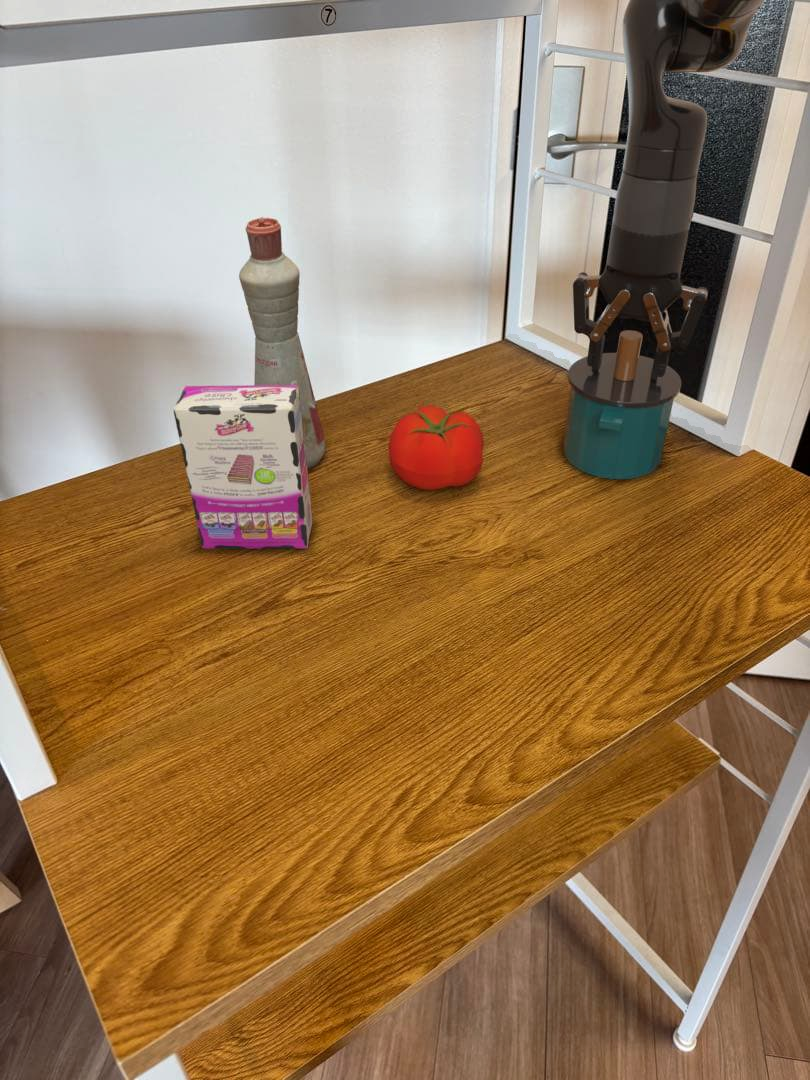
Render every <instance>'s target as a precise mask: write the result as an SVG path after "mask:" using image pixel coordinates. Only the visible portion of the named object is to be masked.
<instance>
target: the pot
mask: <svg viewBox="0 0 810 1080" xmlns="http://www.w3.org/2000/svg"><path fill="white" fill-rule="evenodd" d="M569 388H570V389H569V395H568V404H567V410H566V411H567V412H566V420H565V427H564V434H563V443H562V446H563V454H564V457H565V458H566V460H567V461H568V462H569V463H570V464H571V465H572V466H573V467H575V468H577V469H578V470H579V471H582V472H584V473H586V474H589V475H591V476H593V477H594V476H595V477H599V478H603V479H610V480H632V479H638V478H641V477H645V476H647V475H650V474H651V473H653V472H654V471H655V470H656V469H657V468H658V467H659V465H660V463H661V459H662V456H663V451H664V447H665V442H666V438H667V434H668V433H667V432H668V428H669V423H670V418H671V414H672V409H673V405H674V400H675V398H674V399H672V400H670V401H669V402H666V403H664V404H661V405H657V406H652V407H643V408H627V407H617V406H611V405H606V404H602V403H599V402H596V401H593V400H591V399H588V398H586V397H584V396H582V395H581V394H579V393H578V392H576V391H575V390H574V389H573V388H572V387H571V386H570V387H569Z"/></svg>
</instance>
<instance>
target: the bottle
mask: <svg viewBox="0 0 810 1080" xmlns="http://www.w3.org/2000/svg"><path fill="white" fill-rule="evenodd" d="M281 226H282V225H281V224H280V223H279V220H278V219H276V218H271V217H264V216H261V217H259V218H254V219H252V220H249V221H248V222H247V224H246V226H245V233H246V235H247V241H248V245H249V250H250V256H249V259H248V260H247V261H246V262H245V263H244V264H243V266H242V267H241V269H240V270H239V274H238V278H239V282H240V286H241V289H242V291H243V296H244V300H245V304H246V306H247V312H248V314H249V318H250V320H251V325H252V328H253V333H254V336H255V337H254V385H298V388H299V396H300V407H301V416H302V425H303V434H304V445H305V454H306V462H307V470H309V469H312V468H313V467H316V466H317V465H318V463H320V461H321V460H322V459H323V456H324V455H325V452H326V438H325V434H324V431H323V427H322V422H321V419H320V415H319V411H318V407H317V402H316V398H315V395H314V390H313V386H312V382H311V378H310V374H309V371H308V370H309V369H308V367H307V366H308V365H307V362H306V359H305V358H306V357H305V354H304V350H303V346H302V343H301V339H300V334H299V332H298V324H299V318H298V315H299V298H300V297H299V295H300V287H299V286H300V270H299V267H298V266H297V264H296V263H295V262H294V261H293V260H292V259H290V257H288V256H287V255H286V254H285V253H284V251H283V245H282V243H283V242H282V227H281Z"/></svg>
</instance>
